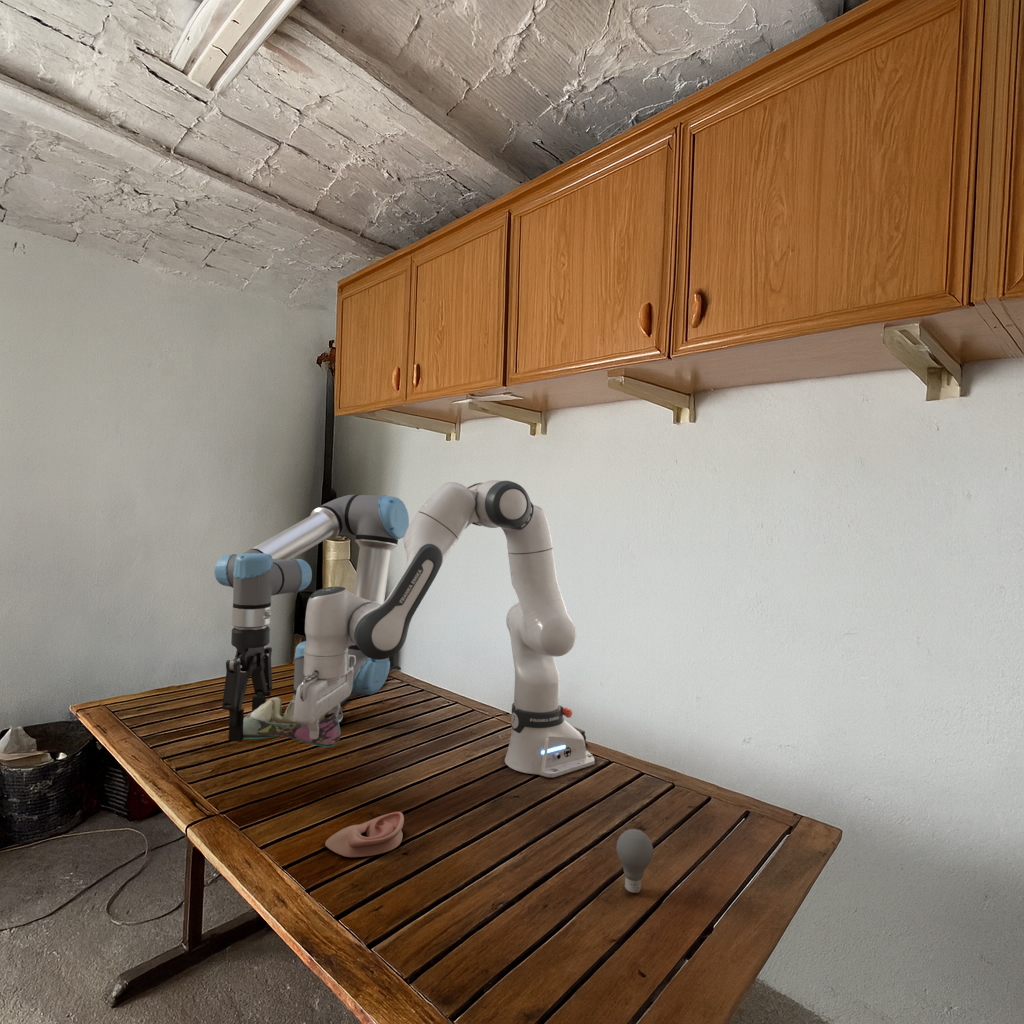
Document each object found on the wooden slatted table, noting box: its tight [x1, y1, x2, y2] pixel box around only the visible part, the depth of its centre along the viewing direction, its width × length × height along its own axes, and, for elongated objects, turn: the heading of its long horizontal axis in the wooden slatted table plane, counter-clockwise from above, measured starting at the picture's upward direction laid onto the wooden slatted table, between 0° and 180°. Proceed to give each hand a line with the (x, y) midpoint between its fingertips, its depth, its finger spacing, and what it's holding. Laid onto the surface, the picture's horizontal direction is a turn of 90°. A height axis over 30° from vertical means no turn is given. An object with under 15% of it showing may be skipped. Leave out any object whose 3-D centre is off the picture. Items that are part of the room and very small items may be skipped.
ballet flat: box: [243, 696, 342, 748], centre depth 134 cm, size 8×24×9 cm, turn 81°
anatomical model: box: [324, 811, 405, 858], centre depth 117 cm, size 13×4×12 cm
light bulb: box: [615, 828, 654, 894], centre depth 106 cm, size 6×6×10 cm
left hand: (247, 733), depth 135 cm, fingers closed on ballet flat, 8 cm apart
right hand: (323, 731), depth 132 cm, fingers closed on ballet flat, 6 cm apart
